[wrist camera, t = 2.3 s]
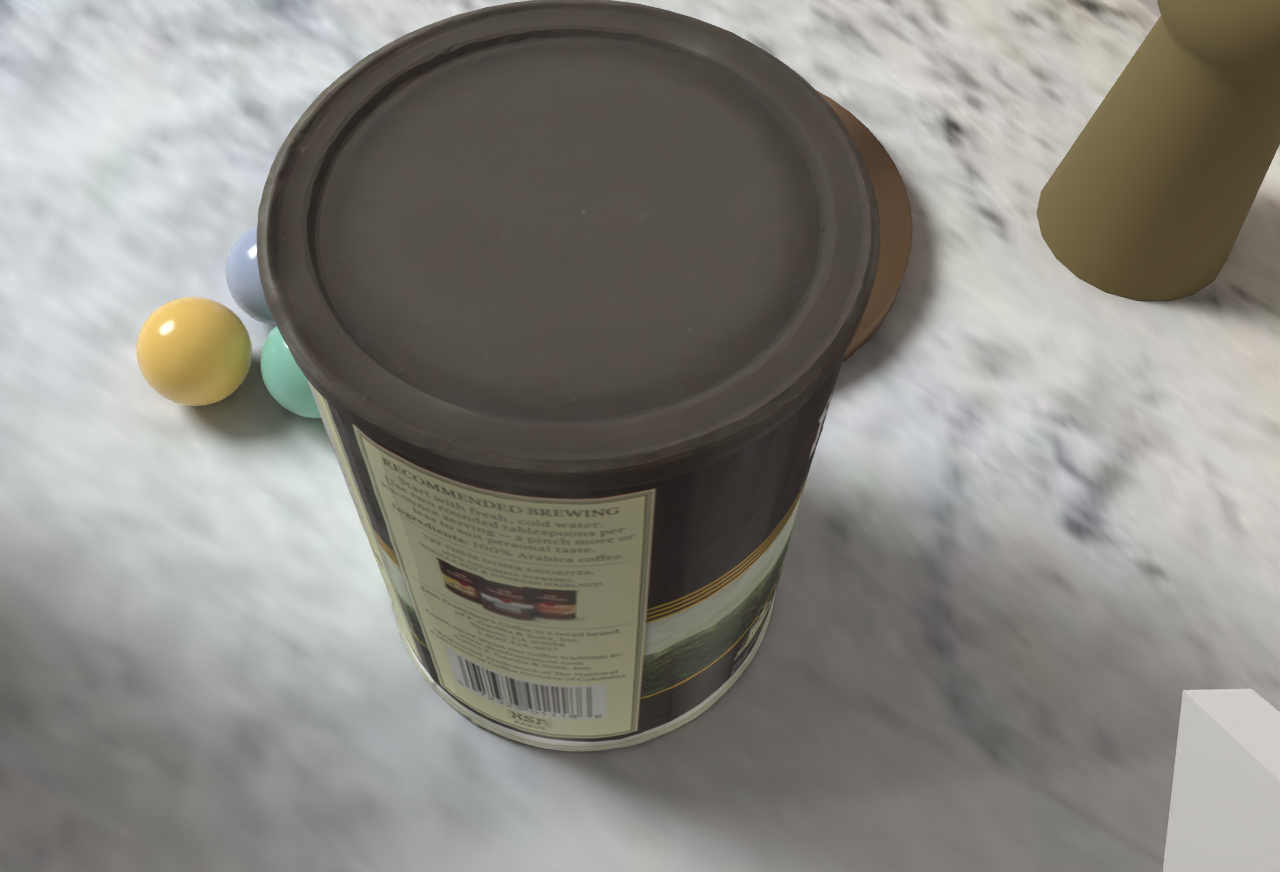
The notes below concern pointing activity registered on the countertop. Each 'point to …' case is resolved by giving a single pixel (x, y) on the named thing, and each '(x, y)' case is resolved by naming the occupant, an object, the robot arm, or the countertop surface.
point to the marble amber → (194, 351)
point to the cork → (1171, 153)
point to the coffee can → (572, 345)
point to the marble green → (286, 377)
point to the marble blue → (247, 278)
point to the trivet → (881, 226)
